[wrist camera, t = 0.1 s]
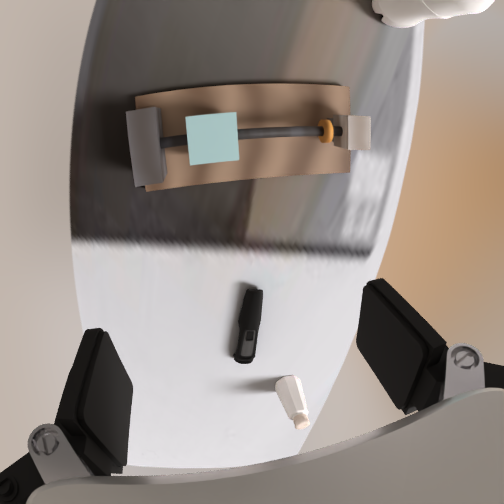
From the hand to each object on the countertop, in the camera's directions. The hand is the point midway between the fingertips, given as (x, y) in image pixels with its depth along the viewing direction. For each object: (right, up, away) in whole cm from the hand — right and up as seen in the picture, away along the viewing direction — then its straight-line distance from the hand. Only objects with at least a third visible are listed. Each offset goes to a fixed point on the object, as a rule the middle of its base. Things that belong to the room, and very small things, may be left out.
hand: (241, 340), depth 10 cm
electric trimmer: (-1, -9, +39) cm, 40 cm away
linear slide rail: (0, +18, +26) cm, 32 cm away
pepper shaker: (+7, -23, +48) cm, 54 cm away
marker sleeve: (-4, +16, +23) cm, 29 cm away
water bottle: (+20, +39, +21) cm, 49 cm away
